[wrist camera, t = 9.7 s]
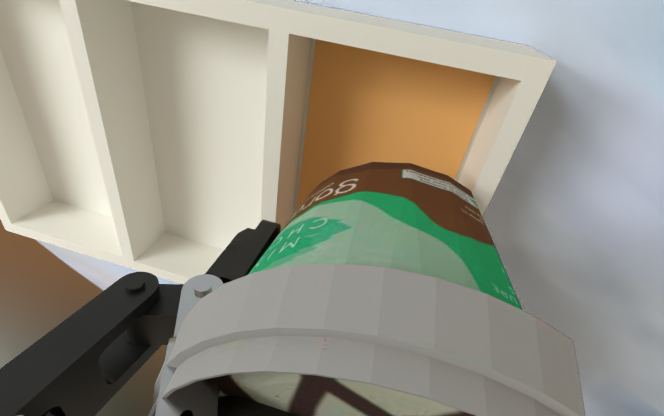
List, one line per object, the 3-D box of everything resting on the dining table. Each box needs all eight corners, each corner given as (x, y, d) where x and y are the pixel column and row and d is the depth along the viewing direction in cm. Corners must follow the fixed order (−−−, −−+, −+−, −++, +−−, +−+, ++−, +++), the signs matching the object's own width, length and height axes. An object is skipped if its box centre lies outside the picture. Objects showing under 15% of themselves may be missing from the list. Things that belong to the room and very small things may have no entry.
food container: (374, 59, 12) (259, 204, 4) (501, 164, 13) (623, 461, 5) (234, 253, 19) (84, 455, 11) (324, 314, 20) (249, 544, 12)
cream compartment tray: (58, 204, 28) (7, 233, 24) (-35, -63, 18) (-138, -75, 15) (417, 308, 24) (414, 358, 21) (529, 45, 15) (557, 61, 11)
